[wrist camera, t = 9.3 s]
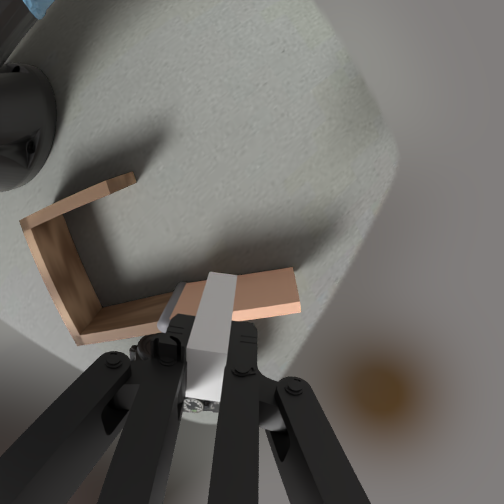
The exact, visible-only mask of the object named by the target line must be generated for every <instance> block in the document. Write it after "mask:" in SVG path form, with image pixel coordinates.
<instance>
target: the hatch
mask: <svg viewBox="0 0 504 504" xmlns="http://www.w3.org/2000/svg"><path fill="white" fill-rule="evenodd" d="M206 281H207V280H205V281H198V282H191V283H186V282H179V283H178V285H177V286H176V288H175V290H174V292H173V294H172V296H171V298H170V300H169V301H168V303H167V305H166V307H165V309H164V311H163V313H162V315H161V317H160V319H159V321H158V323H157V327H158V329H159V330H160V331H161V332H163V333H166V330H167V328H168V325H169V323H170V320H171V318H173V317H174V316H175V315H176V314H178V313H179V314H185V315H192V316H196V314H197V311H198V307H199V304H200V301H201V298H202V294H203V291H204V288H205V285H206ZM300 312H301V306H300V300H299V295H298V290H297V285H296V280H295V275H294V270H293V267H290V268H283V269H277V270H271V271H264V272H258V273H251V274H245V275H238V276H237V282H236V290H235V297H234V305H233V313H232V320H233V321H245V320H252V319H259V318H267V317H273V316H280V315H287V314H293V313H300Z"/></svg>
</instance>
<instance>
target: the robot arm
mask: <svg viewBox="0 0 504 504" xmlns="http://www.w3.org/2000/svg"><path fill="white" fill-rule="evenodd" d="M54 1H55V0H0V192H4V191H9V190H12V189H15V188H18V187H21V186H23V185H25V184H26V183H28V182H29V181H30V180H32V179H33V178H34V177H35V176H36V174H37V173H38V172H39V171H40V169H41V168H42V166H43V164H44V163H45V161H46V159H47V156H48V154H49V152H50V149H51V146H52V142H53V138H54V133H55V127H56V103H55V97H54V93H53V89H52V87H51V84H50V82H49V80H48V79H47V77H46V76H45V74H44V73H43V72H42V71H41V70H39V69H38V68H36V67H34V66H32V65H28V64H22V63H7V64H4V62H5V61H6V60H7V58H8V57H9V56H10V54H11V53H12V51H13V50H14V49H15V47H16V46H17V45H18V44H19V42H20V41H21V40H22V38H23V37H24V36H25V35H26V33H27V32H28V31H29V30H30V29H31V27H32V26H33V25H34V24H35V23H36V21H37V20H38V19H39V20H40V19H42V18H43V17H44V16H45V14H46V10H47V9H48V8H49V6H50V5H51V4H52V3H53V2H54ZM236 282H237V275H232V274H224V273H217V272H209V275H208V278H207V281H206V285H205V288H204V291H203V294H202V298H201V301H200V304H199V307H198V311H197V314H196V316H192V315H185V314H179V313H178V314H176V315H175V316H174V317H173V318H171V320H170V323H169V325H168V328H167V330H166V333H162V334H158V335H156V336H154V337H153V338H152V339H151V340H150V350H151V358H150V359H147V360H143V361H130V359H129V357H128V356H127V355H125V354H124V353H121V352H117V351H110V352H107V353H104V354H103V355H101V356H100V357H99V358H98V359H97V360H96V361H95V362H94V363H93V364H92V365H91V366H90V367H89V368H88V369H87V370H86V371H84V372H83V373H82V374H81V375H80V377H78V378H77V380H75V381H74V382H73V383H72V384H71V385H70V386H69V387H68V388H67V389H66V390H65V391H64V392H63V393H62V394H61V395H60V396H59V397H58V398H57V399H56V400H55V401H54V402H53V403H52V404H51V405H50V406H49V407H48V409H46V410H45V411H44V412H43V414H41V415H40V416H39V418H37V420H35V422H34V423H33V424H32V425H31V426H30V427H29V428H28V429H27V430H26V431H25V432H24V433H23V434H22V435H21V436H20V437H19V438H18V439H17V440H16V441H15V442H14V443H13V444H12V445H11V446H10V447H9V449H7V450H6V452H5V453H4V454H3V455H2V456H1V457H0V504H66V503H67V502H68V501H69V499H70V498H71V496H72V495H73V494H74V493H75V491H76V490H77V489H78V487H79V486H80V485H81V483H82V482H83V481H84V479H85V478H86V477H87V475H88V474H89V473H90V471H91V470H92V469H93V467H94V466H95V465H96V463H97V462H98V461H99V459H100V458H101V457H102V455H103V454H104V452H105V451H106V450H107V449H108V447H109V446H110V444H111V443H112V442H113V440H114V439H115V438H116V437H117V435H118V434H119V433H120V431H121V430H122V429H123V430H122V433H121V436H120V439H119V441H118V444H117V447H116V450H115V452H114V455H113V458H112V461H111V464H110V467H109V470H108V472H107V475H106V478H105V481H104V484H103V487H102V490H101V493H100V496H99V500H98V502H97V504H163V501H164V496H165V491H166V486H167V481H168V477H169V472H170V467H171V462H172V458H173V453H174V448H175V444H176V439H177V434H178V430H179V426H180V421H181V417H182V412H183V408H184V396H185V392H186V397H190V398H196V399H202V400H209V401H216V402H220V406H219V414H218V422H217V431H216V438H215V446H214V455H213V463H212V472H211V480H210V488H209V496H208V504H258V478H259V476H258V475H259V473H258V471H259V467H258V466H259V427H262V428H264V429H265V431H266V434H267V438H268V441H269V444H270V446H271V450H272V452H273V455H274V458H275V461H276V464H277V467H278V470H279V473H280V476H281V479H282V482H283V484H284V487H285V490H286V493H287V495H288V498H289V501H290V504H371V503H370V501H369V499H368V497H367V495H366V493H365V491H364V489H363V488H362V486H361V484H360V482H359V480H358V478H357V476H356V474H355V473H354V470H353V468H352V466H351V464H350V463H349V460H348V459H347V457H346V455H345V453H344V451H343V449H342V447H341V445H340V443H339V441H338V439H337V437H336V435H335V433H334V431H333V429H332V427H331V425H330V423H329V421H328V420H327V418H326V416H325V414H324V412H323V410H322V408H321V406H320V404H319V402H318V400H317V398H316V396H315V394H314V392H313V390H312V388H311V386H310V385H309V384H308V383H307V382H306V381H305V380H303V379H301V378H298V377H285V378H283V379H281V380H280V381H279V382H277V381H274V380H271V379H269V378H267V377H265V376H264V375H262V374H261V373H260V371H259V370H258V367H257V329H256V327H255V326H254V324H253V323H248V322H240V321H233V320H232V313H233V305H234V297H235V290H236ZM123 427H124V428H123Z"/></svg>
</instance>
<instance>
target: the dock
mask: <svg viewBox="0 0 504 504" xmlns="http://www.w3.org/2000/svg"><path fill="white" fill-rule="evenodd" d="M135 183H137V182H136V179H135V176H134V173H133V171H132V172H129V173H126V174H123V175H120V176H117V177H114V178H111V179H109V180H106V181H103V182H101V183H98V184H96V185H94V186H91V187H89V188H87V189H85V190H82V191H80V192H78V193H75V194H73V195H71V196H69V197H67V198H65V199H62V200H60V201H58V202H56V203H54V204H52V205H50V206H48V207H45V208H43V209H41V210H39V211H37V212H35V213H33V214H31V215H29V216H27V217H25V218H23V219H22V220H20V221H19V222H20V225H21V227H22V230H23V233H24V235H25V238H26V241H27V243H28V246H29V248H30V251H31V253H32V255H33V258H34V260H35V263H36V265H37V267H38V270H39V272H40V274H41V276H42V278H43V281H44V283H45V285H46V287H47V289H48V291H49V293H50V296H51V298H52V300H53V302H54V304H55V306H56V308H57V310H58V312H59V313H60V315H61V317H62V319H63V321H64V323H65V325H66V327H67V328H68V330H69V332H70V334H71V336H72V337H73V339H74V341H75V343H76V344H77V346H80V345H87V344H94V343H101V342H107V341H114V340H120V339H126V338H132V337H138V336H144V335H150V334H155V333H161V331H160V330H159V329H158V327H157V323H158V321H159V319H160V317H161V315H162V313H163V311H164V309H165V307H166V305H167V303H168V301H169V300H170V298H171V296H172V294H173V292H169V293H165V294H161V295H156V296H152V297H148V298H143V299H139V300H134V301H130V302H125V303H121V304H117V305H112V306H108V307H103V308H102V306H101V304H100V302H99V300H98V298H97V295H96V293H95V291H94V289H93V287H92V285H91V283H90V280H89V278H88V276H87V274H86V271H85V269H84V267H83V264H82V262H81V260H80V257H79V255H78V252H77V250H76V248H75V245H74V243H73V240H72V238H71V235H70V232H69V230H68V227H67V224H66V222H65V219H64V216H63V214H64V213H66V212H68V211H71V210H73V209H75V208H78V207H80V206H82V205H85V204H87V203H90V202H92V201H95V200H97V199H99V198H102V197H105V196H107V195H110V194H112V193H114V192H116V191H119V190H121V189H123V188H125V187H128V186H130V185H132V184H135Z"/></svg>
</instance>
